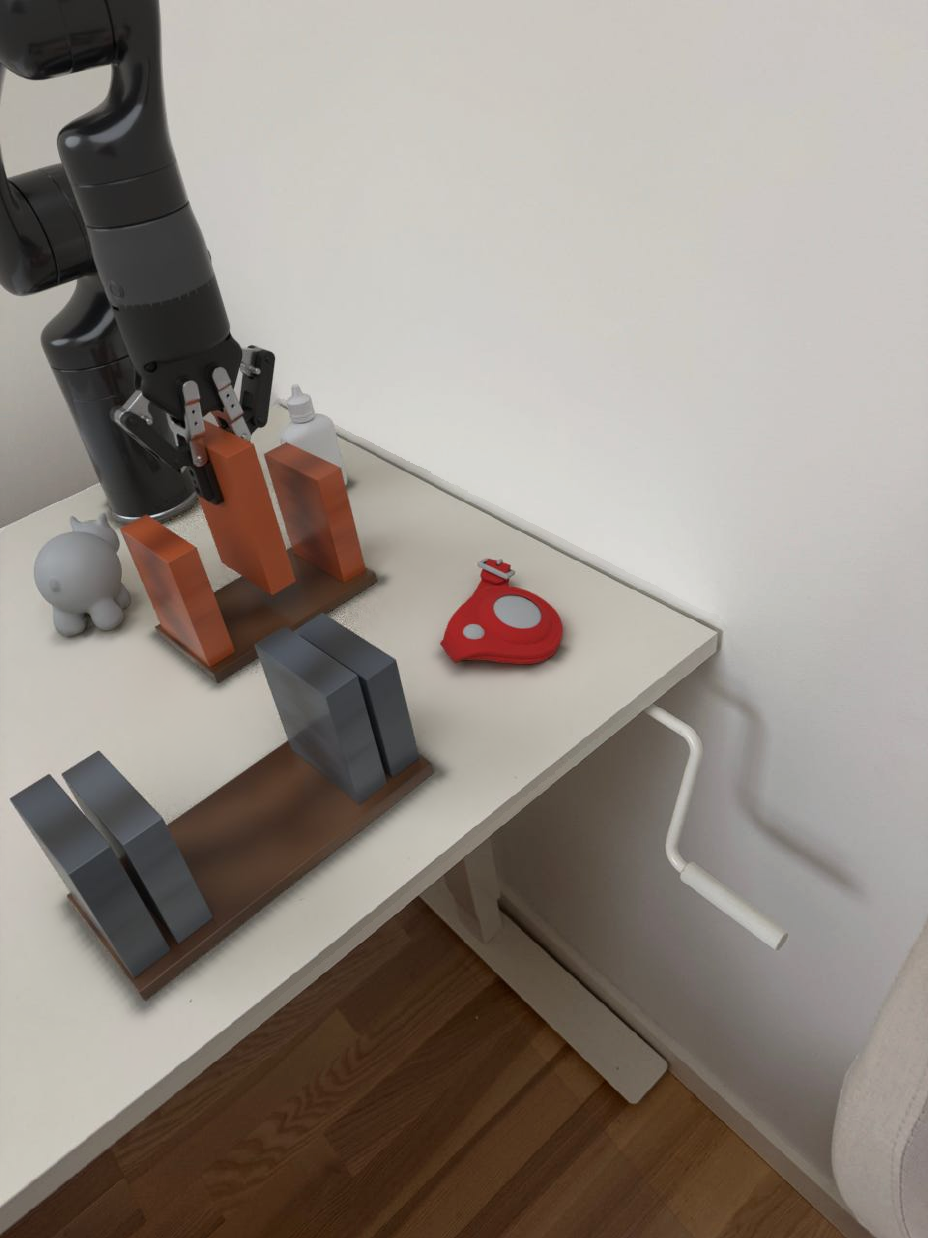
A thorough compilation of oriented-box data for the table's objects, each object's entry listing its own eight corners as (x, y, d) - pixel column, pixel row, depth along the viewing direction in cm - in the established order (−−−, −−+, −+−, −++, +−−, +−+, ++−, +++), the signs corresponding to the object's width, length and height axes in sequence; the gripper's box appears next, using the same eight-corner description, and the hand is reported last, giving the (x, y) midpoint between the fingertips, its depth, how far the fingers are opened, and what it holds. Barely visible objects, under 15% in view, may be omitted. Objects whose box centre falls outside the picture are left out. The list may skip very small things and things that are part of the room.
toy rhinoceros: (161, 559, 93) (131, 484, 88) (124, 637, 84) (88, 559, 79) (91, 566, 94) (56, 492, 89) (47, 645, 85) (5, 567, 80)
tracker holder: (591, 630, 74) (486, 663, 69) (576, 669, 77) (474, 704, 72) (506, 536, 81) (405, 560, 76) (495, 575, 84) (396, 601, 79)
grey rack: (71, 904, 62) (-3, 792, 55) (347, 709, 73) (314, 595, 66) (144, 1002, 56) (71, 889, 49) (434, 772, 67) (407, 654, 60)
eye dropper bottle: (294, 489, 101) (263, 383, 93) (346, 476, 101) (320, 370, 94) (299, 509, 97) (268, 401, 90) (352, 495, 98) (326, 387, 90)
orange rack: (158, 635, 84) (110, 525, 77) (312, 544, 92) (282, 437, 85) (217, 683, 77) (171, 569, 70) (377, 581, 86) (351, 469, 78)
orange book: (221, 563, 84) (173, 430, 76) (245, 549, 85) (200, 417, 77) (272, 595, 79) (226, 457, 71) (296, 581, 80) (254, 443, 72)
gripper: (216, 240, 72) (275, 444, 83) (44, 304, 66) (133, 517, 76) (271, 254, 68) (326, 468, 78) (92, 325, 61) (179, 548, 72)
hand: (230, 491), depth 77 cm, fingers closed on orange book, 2 cm apart
